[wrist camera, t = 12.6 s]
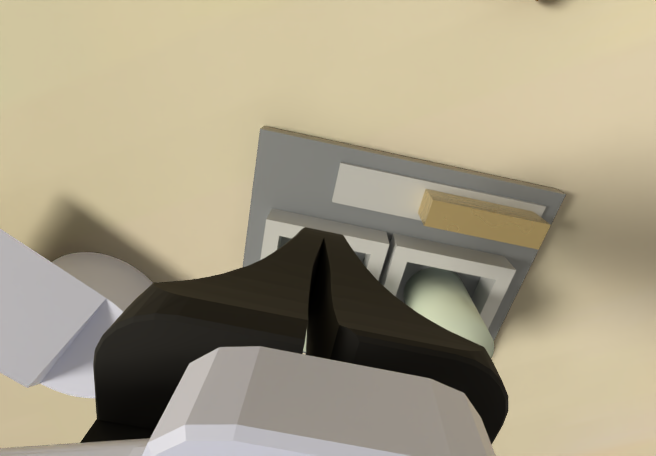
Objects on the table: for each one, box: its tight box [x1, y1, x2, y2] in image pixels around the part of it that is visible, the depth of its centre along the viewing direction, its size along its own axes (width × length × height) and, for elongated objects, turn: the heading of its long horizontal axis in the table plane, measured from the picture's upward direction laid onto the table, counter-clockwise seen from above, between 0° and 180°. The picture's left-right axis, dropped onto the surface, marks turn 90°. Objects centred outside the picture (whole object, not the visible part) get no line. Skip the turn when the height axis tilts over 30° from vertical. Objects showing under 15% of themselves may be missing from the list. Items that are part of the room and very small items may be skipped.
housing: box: [243, 126, 566, 353], centre depth 20 cm, size 14×16×6 cm
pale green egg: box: [404, 267, 494, 358], centre depth 20 cm, size 4×4×5 cm
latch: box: [418, 189, 551, 250], centre depth 19 cm, size 1×6×2 cm, turn 78°
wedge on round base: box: [0, 229, 153, 398], centre depth 22 cm, size 9×7×13 cm
